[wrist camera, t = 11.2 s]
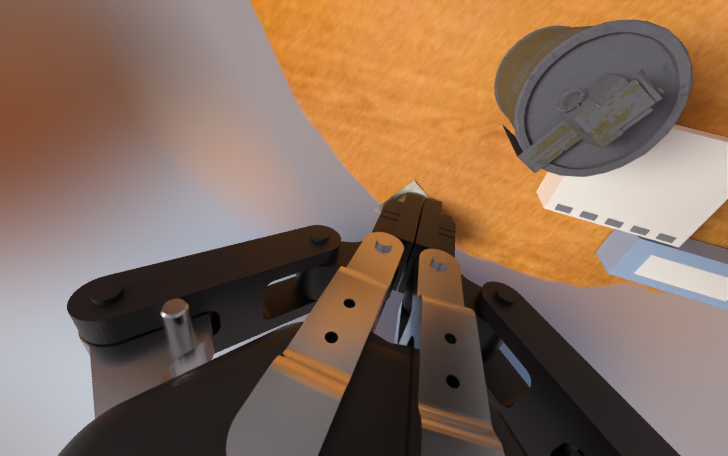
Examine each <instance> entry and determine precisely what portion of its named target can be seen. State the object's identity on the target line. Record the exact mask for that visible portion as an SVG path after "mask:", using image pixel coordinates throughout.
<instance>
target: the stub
mask: <svg viewBox="0 0 728 456" xmlns="http://www.w3.org/2000/svg"><path fill="white" fill-rule="evenodd" d="M596 255H597V256H598V258H599V259H600V261H601V263H602V264H603V266H604V268H605V269H606V271H607V272H608V274H611V275H614V276H617V277H621V278H624V279H627V280H630V281H634V282H637V283H640V284H643V285H647V286H650V287H653V288H657V289H660V290H663V291H666V292H670V293H673V294H677V295H679V296H683V297H686V298H690V299H692V300H696V301H699V302H702V303H706V304H709V305H712V306H715V307H719V308H722V309H725V310H728V249H725V248H722V247H718V246H715V245H711V244H708V243H704V242H701V241H697V240H694V239H690V238H688V239H687V240H686V241H685V242H684V243H683V244H682V245H681V246H680V247H675V246H672V245H669V244H665V243H662V242H658V241H655V240H651V239H648V238H644V237H641V236H638V235H634V234H631V233H627V232H624V231H620V230H617V229H614V231H613V232H612V233H611V234H610V235H609V237H608V238H607V239H606V240H605V242H604V243H603V244H602V245H601V247H600V248H599V249H598V250H597V251H596Z"/></svg>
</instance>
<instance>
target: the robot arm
mask: <svg viewBox="0 0 728 456" xmlns="http://www.w3.org/2000/svg"><path fill="white" fill-rule="evenodd" d="M423 199H424V197H423V196H420V195H417V194H413V193H410V192H407V195H406V198H405V201H404V202H401V201H397V200H394V199H391V200H390V201H388V202H386V203H385V205H384V207H383V209H382V211H381V214H380V216H379V218H378V220H377V222H376V225H375V227H374V229H373V231H372V233H370V234H368V235H367V236H366V237H365V238H364V240H363V241H361V242H342V241H341V237H340V235H339V234H338V232H336V231H335V230H334V229H332V228H330V227H327V226H321V225H313V226H308V227H304V228H299V229H295V230H292V231H288V232H283V233H279V234H275V235H271V236H267V237H263V238H259V239H255V240H250V241H246V242H243V243H238V244H234V245H230V246H226V247H222V248H218V249H214V250H210V251H206V252H201V253H197V254H193V255H189V256H185V257H181V258H177V259H173V260H169V261H165V262H161V263H156V264H152V265H148V266H144V267H140V268H136V269H132V270H128V271H124V272H120V273H115V274H111V275H107V276H104V277H101V278H97V279H95V280H92V281H90V282H88V283H87V284H85V285H83V286H82V287H80V288H79V289H78V290H76V291H75V292H74V293H73V295H72V296H71V297H70V299H69V301H68V304H67V310H68V313H69V314H70V316H71V318H72V320H73V322H74V323H75V325H76V327H77V329H78V332H79V337H80V339H81V341H82V343H83V344H84V346H85V348H86V350H87V351H88V353H89V355H90V357H91V369H92V370H91V371H92V383H93V398H94V411H95V420H93V421H92V422H91V423H89V424H88V425H87V426H86V427H84V428H83V429H82V430H81V431H80V432H79V433H78V434H77V435H76V436H75V437H74V438H73V439H72V440H71V441H70V442H69V443H68V444H67V445H66V446H65V448H64V449H63V450H62V451H61V452H60V453H59V455H58V456H680V455H679V454H678V453H677V452H676V451H675V450H674V449H673V448H672V447H671V446H670V445H669V444H668V443H667V442H666V441H665V440H664V439H663V438H662V437H661V436H660V435H659V434H658V433H657V432H656V431H655V430H654V429H653V428H652V427H651V426H650V425H649V424H648V423H647V422H646V421H645V420H644V419H643V418H642V417H641V416H640V415H639V414H638V413H637V412H636V411H635V410H634V409H633V408H632V407H631V406H630V405H629V404H628V403H627V401H626V400H625V399H624V398H622V396H621V395H620V394H619V393H618V392H617V391H615V390H614V388H612V387H611V385H610V384H608V382H607V381H606V380H605V379H604V378H603V377H602V376H601V375H600V374H598V372H597V371H596V370H595V369H593V368H592V366H591V365H590V364H589V363H588V362H587V361H586V360H585V359H584V358H583V357H582V356H581V355H580V354H579V353H578V352H577V351H576V350H575V349H574V348H573V347H572V346H571V345H570V344H569V343H568V342H567V341H566V340H565V339H564V338H563V337H562V336H561V335H560V334H559V333H558V332H557V331H556V330H555V329H554V328H553V327H552V326H551V325H550V324H549V323H548V322H547V321H546V320H545V319H544V318H543V317H542V316H541V315H540V314H539V313H538V312H537V311H536V310H535V309H534V308H533V307H532V306H531V305H530V304H529V303H528V302H527V301H526V300H525V299H524V298H523V297H522V296H521V295H520V294H519V293H518V292H516V291H515V290H514V289H513V288H511V287H509V286H507V285H505V284H503V283H499V282H487V283H485V284H484V285H483V287H480V286H478V285H476V284H474V283H473V282H471V281H469V280H468V279H466V278H465V277H464V276H463V275H461V272H460V266H459V263H458V262H457V260H456V259H455V223H454V221H453V220H452V218H451V217H450V216H447V215H444V214H441V207H442V202H440V201H437V200H434V199H430V198H427V197H425V199H424V201H423ZM422 203H423V204H422ZM293 274H296V276H295V277H292V278H289V279H287V280H284V281H281V282H278V283H275V284H272V285H269V286H267V285H268V284H269V283H271V282H273V281H275V280H278V279H281V278H283V277H287V276H290V275H293ZM400 279H401V280H400ZM399 281H400V284H399ZM398 284H399V289H398V292H401V293H404V295H403V299H402V302H401V305H400V307H399V311H398V320H397V327H396V335H395V343H394V344H393V343H389V342H387V341H386V340H384V339H382V338H381V337H379V336H378V335H376V334H374V331H375V329H376V326H377V324H378V321H379V319H380V316H381V313H382V311H383V308H384V306H385V303H386V301H387V300H388V298H389V297H390V294H391V291H392V290H395V291H396V290H397V287H398ZM308 313H309V315H308V316H307V318H306V320H305V321H304V322H298V323H293V324H290V325H287V326H283V327H281V328H279V329H277V330H274V331H272V332H270V333H268V334H266V335H264V336H262V337H260V338H257V339H256V340H253V341H251V342H249V343H247V344H245V345H243V346H240V347H239V348H236V349H234V350H232V351H230V352H228V353H226V354H224V355H221V356H219V357H217V358H215V359H213V360H212V358H213V355H214V354H215V353H217V352H219V351H222V350H224V349H226V348H229V347H231V346H233V345H236V344H238V343H240V342H242V341H245V340H247V339H250V338H252V337H254V336H257V335H259V334H261V333H263V332H266V331H268V330H271V329H273V328H275V327H278V326H280V325H282V324H284V323H287V322H289V321H292V320H294V319H296V318H298V317H301V316H303V315H306V314H308ZM503 343H505V344H506V345H507V347H508V348H509V349H510V350H511V351H512V353H513V354H514V355H515V356H516V358H517V359H518V360H519V361H520V362H521V364H522V365H523V366H524V367H525V368H526V370H527V371H528V373H529V375H530V378H531V387H529V386H528V385H527V383H526V382H525V381H524V380H523V378H522V377H521V376H520V375H519V373H518V372H517V371H516V370H515V369H514V367H513V366H512V365H511V363H510V362H509V361H508V360H507V358H506V357H505V356H504V354H503V353H502V352H501V351H500V350H499V348H500V347H501V345H502V344H503Z"/></svg>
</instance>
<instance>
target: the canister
mask: <svg viewBox="0 0 728 456" xmlns="http://www.w3.org/2000/svg"><path fill="white" fill-rule="evenodd" d="M692 83H693V81H692V64H691V61H690V58H689V54H688V51H687V49H686V48H685V46H684V45H683V43H682V42H681V41H680V40H679V39H678V38H677V37H676V36H675V35H674V34H673V33H671V32H670V31H669V30H668V29H666V28H664V27H661V26H659V25H656V24H653V23H650V22H648V21H640V20H617V21H611V22H605V23H602V24H599V25H596V26H587V27H572V28H571V27H566V26H550V27H546V28H542V29H539V30H536V31H534V32H532V33H530V34H528V35H527V36H525V37H524V38H522V39H521V40H520V41H518V42H517V43H516V44H515V45H514V46H513V47H512V48H511V49H510V50H509V51H508V53H507V54H506V56H505V57H504V59H503V60H502V62H501V64H500V66H499V69H498V71H497V74H496V79H495V97H496V101H497V103H498V106H499V107H500V109H501V111H502V112H503V113H504V114H505V115H506V116H507V117H508V118H509V120H510V122H511V124H512V125H513V127H514V129H515V134H516V137H515V136H514V135H513V134H512V133H511V132H510V131H509V130H508V129H507V128H506V127H505V126H504V125H503V124H502V125H503V127H504V129H505V131H506V134H507V136H508V138H509V140H510V142H511V144H512V147H513V149H514V151H515V153H516V155H517V157H518V158H519V159H520V160H521V161H522V162H523V163H525V164H526V165H527V166H528V167H529V168H530V169H531V170H532V171H533V172H534V173H536V172H538V171H539V170H540V169H544V170H546V171H548V172H550V173H554V174H557V175H561V176H575V177H588V176H593V175H598V174H602V173H607V172H609V171H612V170H615V169H618V168H621V167H623V166H625V165H627V164H628V163H630V162H632V161H634V160H635V159H637V158H639V157H641V156H643V155H644V154H646V153H647V152H648V151H650V150H651V149H652V148H653V147H654V146H656V145H657V144H658V143H659V142H660V141H661V140H662V139H663V138H664V137H665V136H666V135H667V134H668V133H669V131H670V130H671V129H672V127H673V126H674V125H675V123H676V122H677V121H678V119H679V118H680V116H681V114H682V112H683V110H684V108H685V106H686V103H687V100H688V97H689V94H690V90H691V87H692ZM516 138H517V139H516Z"/></svg>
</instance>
